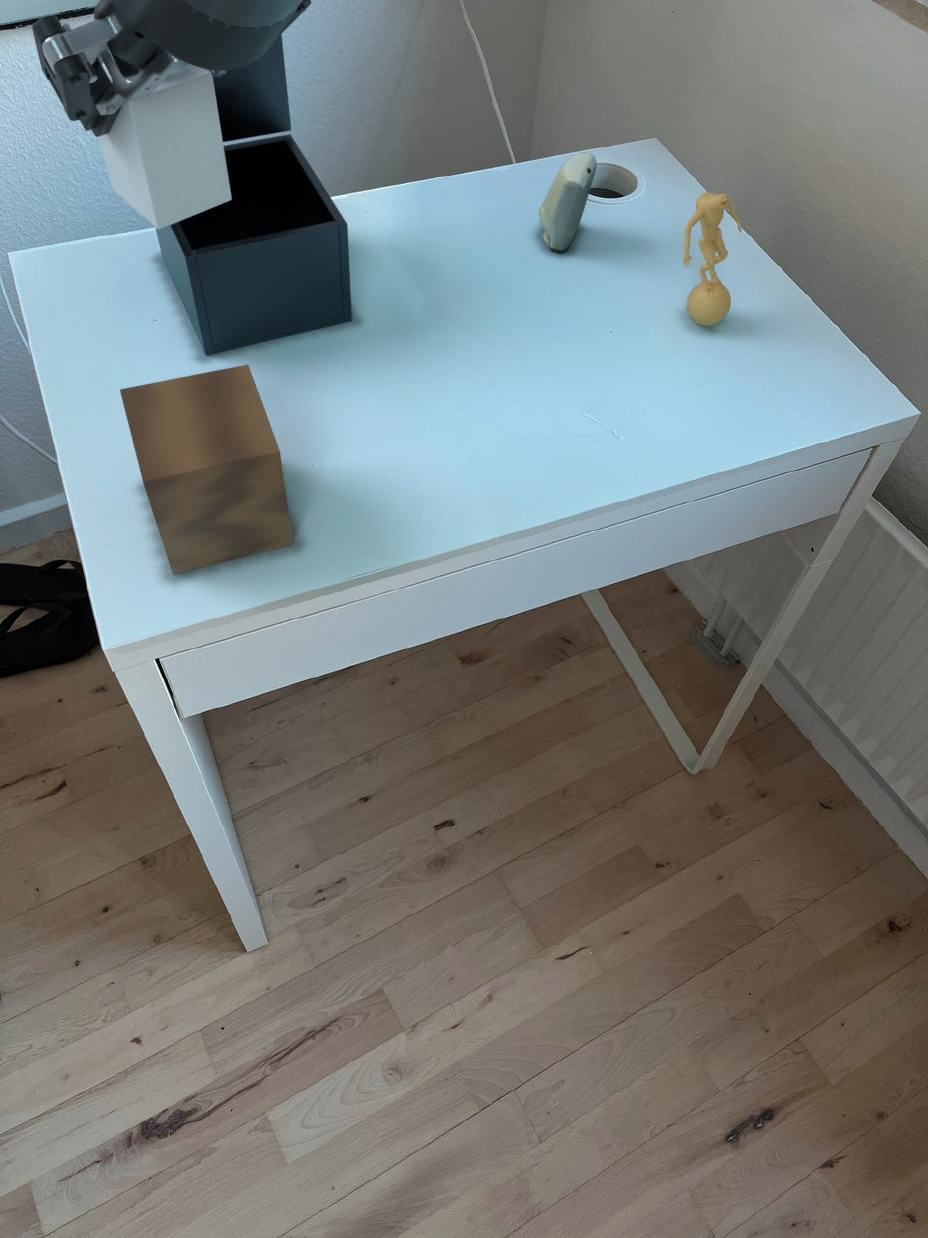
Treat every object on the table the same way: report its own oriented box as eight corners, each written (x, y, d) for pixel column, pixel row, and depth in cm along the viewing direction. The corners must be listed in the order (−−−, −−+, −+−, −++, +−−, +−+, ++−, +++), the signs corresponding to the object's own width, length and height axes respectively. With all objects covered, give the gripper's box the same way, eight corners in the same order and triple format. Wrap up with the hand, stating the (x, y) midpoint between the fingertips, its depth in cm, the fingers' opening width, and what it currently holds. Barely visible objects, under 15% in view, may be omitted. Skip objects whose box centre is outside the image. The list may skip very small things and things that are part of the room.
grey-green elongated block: (596, 255, 94) (611, 179, 87) (546, 259, 93) (558, 183, 86) (578, 221, 97) (592, 145, 90) (530, 225, 96) (540, 149, 89)
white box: (158, 230, 53) (121, 74, 46) (111, 190, 55) (70, 34, 48) (232, 199, 55) (208, 46, 48) (185, 162, 57) (155, 8, 50)
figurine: (693, 350, 86) (731, 232, 76) (642, 318, 88) (673, 199, 79) (745, 312, 90) (788, 195, 80) (695, 282, 92) (731, 165, 82)
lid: (271, -73, 72) (253, -93, 74) (89, -53, 68) (77, -75, 70) (291, 130, 84) (276, 107, 86) (139, 156, 80) (127, 132, 83)
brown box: (173, 574, 69) (142, 481, 60) (150, 487, 73) (119, 389, 65) (293, 545, 71) (280, 451, 63) (264, 461, 75) (248, 363, 67)
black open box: (352, 321, 86) (347, 223, 78) (205, 356, 82) (185, 257, 74) (299, 231, 93) (290, 133, 85) (162, 259, 89) (139, 159, 81)
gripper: (327, -212, 39) (211, -3, 54) (4, -146, 33) (-28, 69, 48) (407, -22, 42) (276, 129, 56) (119, 70, 36) (56, 213, 50)
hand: (136, 101), depth 52 cm, fingers closed on white box, 5 cm apart
